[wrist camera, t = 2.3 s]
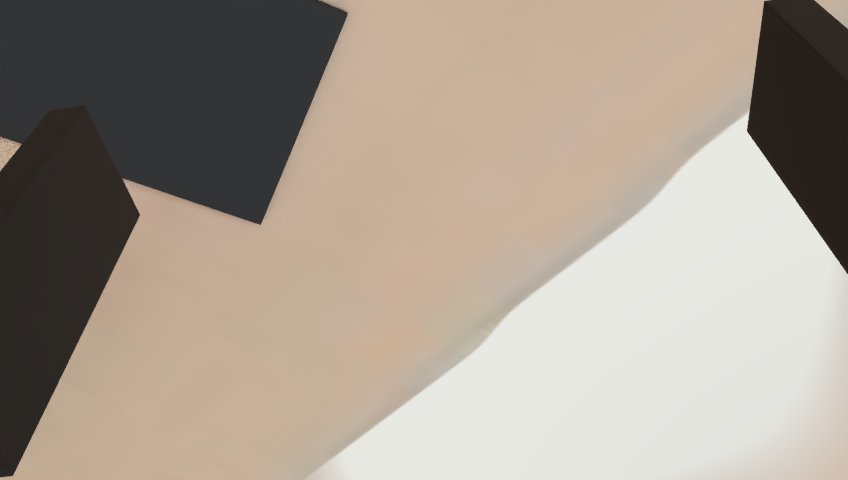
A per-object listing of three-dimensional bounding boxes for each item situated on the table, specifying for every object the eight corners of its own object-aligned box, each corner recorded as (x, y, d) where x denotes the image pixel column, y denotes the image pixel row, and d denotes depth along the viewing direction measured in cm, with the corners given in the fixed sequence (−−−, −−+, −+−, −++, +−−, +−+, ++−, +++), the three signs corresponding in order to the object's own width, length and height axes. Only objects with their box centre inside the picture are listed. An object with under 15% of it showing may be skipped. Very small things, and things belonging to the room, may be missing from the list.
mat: (-111, 94, 38) (-115, 97, 38) (-106, -185, 30) (-111, -183, 30) (261, 220, 44) (260, 225, 43) (347, 12, 36) (347, 16, 36)
